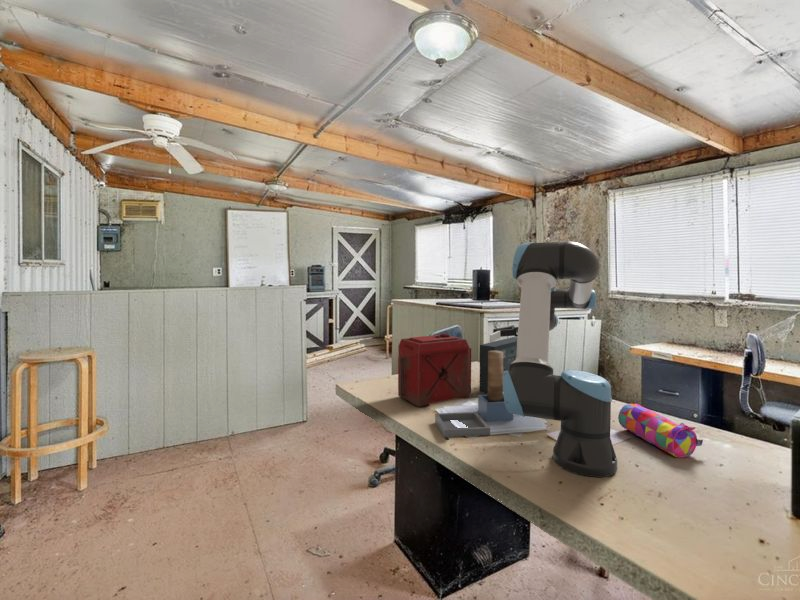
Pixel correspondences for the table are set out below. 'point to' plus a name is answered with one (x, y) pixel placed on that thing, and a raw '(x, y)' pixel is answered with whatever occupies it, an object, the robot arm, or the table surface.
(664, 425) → the pencil case
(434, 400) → the jerry can
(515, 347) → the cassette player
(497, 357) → the dowel
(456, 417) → the tray
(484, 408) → the open box
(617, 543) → the table surface
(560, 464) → the robot arm
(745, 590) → the table surface
